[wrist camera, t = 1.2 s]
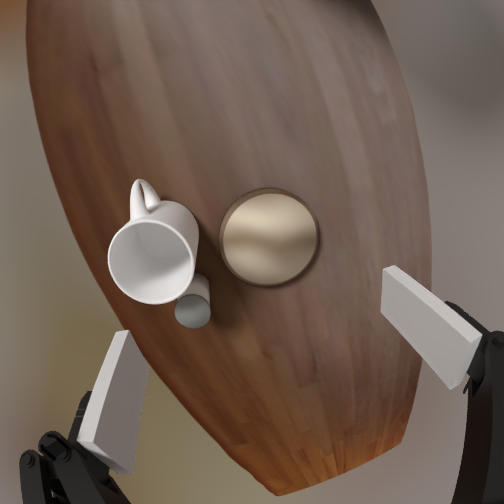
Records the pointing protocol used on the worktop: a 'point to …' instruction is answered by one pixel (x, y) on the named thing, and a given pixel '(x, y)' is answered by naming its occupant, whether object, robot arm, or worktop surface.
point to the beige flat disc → (268, 237)
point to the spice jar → (194, 303)
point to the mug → (154, 248)
